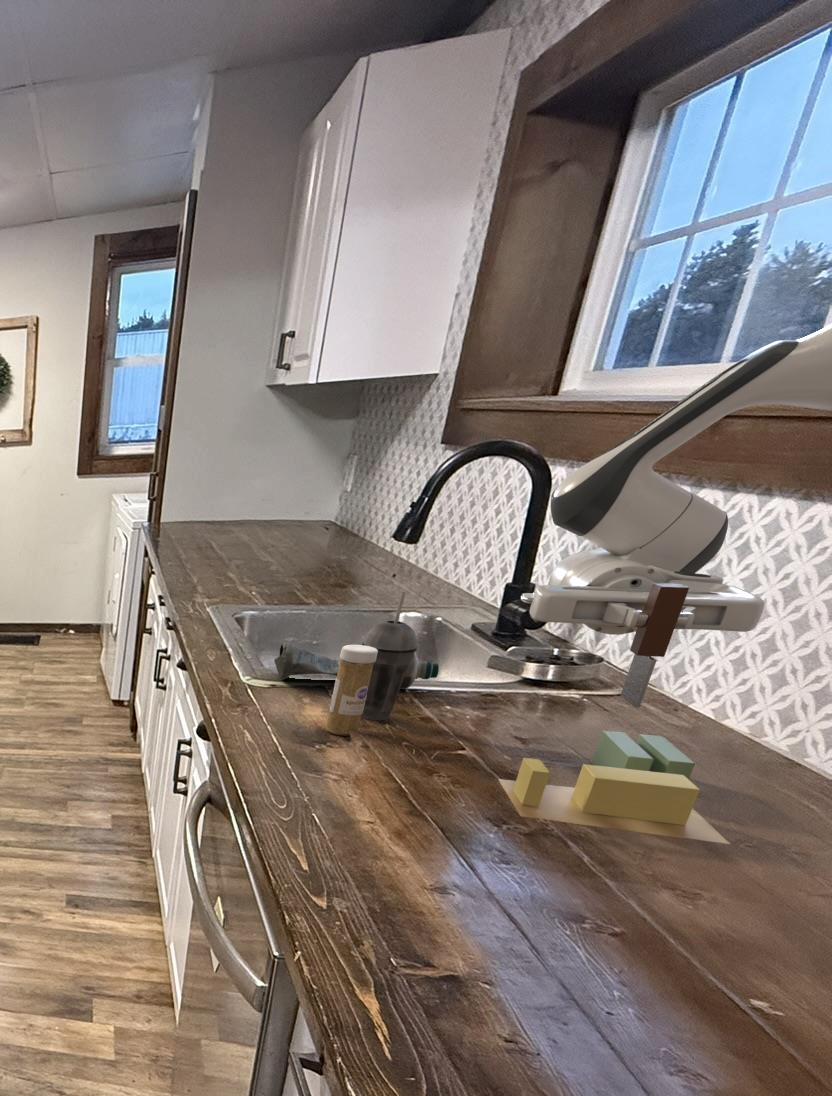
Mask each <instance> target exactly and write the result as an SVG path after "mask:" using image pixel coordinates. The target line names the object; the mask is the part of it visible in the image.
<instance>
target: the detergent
mask: <svg viewBox="0 0 832 1096" xmlns="http://www.w3.org/2000/svg"><path fill="white" fill-rule="evenodd" d="M340 660H341V659H335V658H334V659H333V658H329V657H328V656H325V655H321V654H317V653H315V652H312V651H309V650H306V649H303V648H298V647H297V646H295V645H294V644H293V643H291V642H289V641H288V642H287V641H286V642H283V643H282V644H281V645H280V647H279V655H278V656H277V657H276V658H274V660H273V661H274V665H275V667H276V671H277V674H278V677H279V679H280V680H281V681H283V680H286V679H287V678H289V677H290V676H300V675H330V676H331V675H332V676H336V677H337V674H338V671H339V665H340ZM439 665H440V664H439V663H437V662H436V663H434V662H432V661H430V660H429V661H427V660H425V661H420V660H419V659H418V655H417V654H416V653H414V656H413V658H412V660H411V662H410V663H409V665H408V668H407V670H406V673H405V676H404V679H403V682H402V684H401V687H400V690H401V689H402V690H404V689H409V688H410V687H412V685H413V684H414V683H415V681H416V680H418V679H421V680H430V679H436V678H438V675H439V673H440V671H439V670H440V666H439Z"/></svg>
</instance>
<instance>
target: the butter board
mask: <svg viewBox="0 0 832 1096" xmlns="http://www.w3.org/2000/svg"><path fill="white" fill-rule="evenodd" d="M497 780H498V782H499V783H500V785H501V787H502V788H503V790H504V792H505V793H506V795H507V796H508V798H509V800H510V801H511V803H512V804H513V806H514V807H515V809H516V811H517V812H518V814H519V815H520V817H522V818H529V819H537V820H542V821H543V820H545V821H552V822H559V823H566V824H572V825H573V824H574V825H582V826H588V827H597V828H605V829H612V830H620V831H627V832H634V833H642V834H648V835H657V836H662V837H663V836H664V837H671V838H672V837H673V838H677V839H678V838H679V839H687V840H693V841H701V842H707V843H708V842H709V843H717V844H724V845H731V843H730V842H729V841H728V839H726V838H725V837H724V836H723V835H722V834H721V833H720V832H719V831H717V830H716V829H715V828H714V827H713V826H712V825H711V824H710V822H708V821H707V820H706V819H705V818H703V817H702V816H701V815H700V814H699V813H698V812H697V811H696V810H695V809H694V807H693V808H692V811H691V813H690V816H689V818H688V820H687V823H686V825H678V824H670V823H662V822H654V821H647V820H639V819H631V818H623V817H615V816H608V815H600V814H592V813H584V812H582V810H581V809H580V808H579V807H578V805H577V804H576V803H575V801H574V800H573V799H572V795H573V792H574V789H575V787H572V786H562V785H555V784H554V785H553V784H546V786H545V789H544V792H543V795H542V798H541V801H540V804H539V807H537V806H529V805H522V804H521V802H520V801H519V799H518V798H517V796H516V794H515V793H514V791H513V789H514V786H515V783H516V780H511V779H505V778H497Z"/></svg>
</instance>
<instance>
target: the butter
mask: <svg viewBox="0 0 832 1096" xmlns="http://www.w3.org/2000/svg"><path fill="white" fill-rule="evenodd" d="M574 788H575V789H574V792H573V795H572V799H573V800H574V801H575V803H576V804H577V805H578V807H579V808H580V809H581V810H582V812H584V813H592V814H600V815H608V816H615V817H623V818H631V819H639V820H647V821H654V822H662V823H670V824H678V825H686V823H687V820H688V818H689V816H690V813H691V811H692V808H693V809H694V806H695V803H696V801H697V799H698V796H699V794H700V791H701V789H700V788H699V787H698V786H696V784H694V782H693V781H691V780H690V778H689V779H688V778H686V777H685V776H684V775H678V774H669V773H660V772H651V771H642V770H632V769H623V768H614V767H605V766H596V765H593V764H586V763H583V764H582V766H581V770H580V772H579V774H578V778H577V780H576V783H575V786H574Z"/></svg>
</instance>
